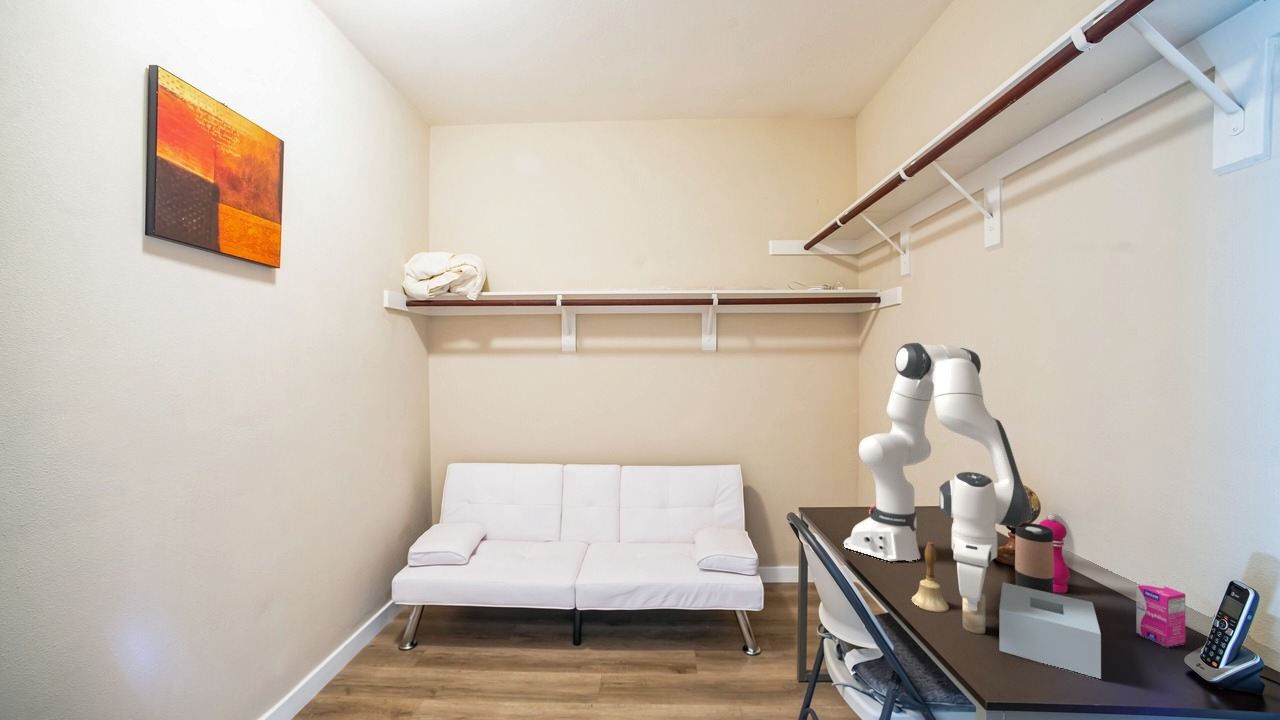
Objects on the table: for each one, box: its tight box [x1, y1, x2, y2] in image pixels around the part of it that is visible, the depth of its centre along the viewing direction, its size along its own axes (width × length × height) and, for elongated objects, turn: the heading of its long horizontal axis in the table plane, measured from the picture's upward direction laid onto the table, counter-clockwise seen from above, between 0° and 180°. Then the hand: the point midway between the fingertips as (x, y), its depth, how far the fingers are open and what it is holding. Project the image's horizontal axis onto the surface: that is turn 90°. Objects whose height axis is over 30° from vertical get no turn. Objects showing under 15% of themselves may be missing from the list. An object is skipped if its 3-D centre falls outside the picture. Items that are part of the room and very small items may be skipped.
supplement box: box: [1135, 581, 1186, 647], centre depth 110 cm, size 6×6×12 cm
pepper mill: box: [1038, 514, 1071, 594], centre depth 135 cm, size 7×7×20 cm
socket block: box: [998, 582, 1102, 680], centre depth 108 cm, size 16×16×9 cm
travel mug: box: [1014, 522, 1054, 594], centre depth 125 cm, size 8×8×20 cm
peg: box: [962, 593, 986, 635], centre depth 115 cm, size 4×4×8 cm
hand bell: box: [910, 540, 950, 613], centre depth 126 cm, size 8×8×16 cm
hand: (973, 604), depth 115 cm, fingers closed on peg, 4 cm apart
